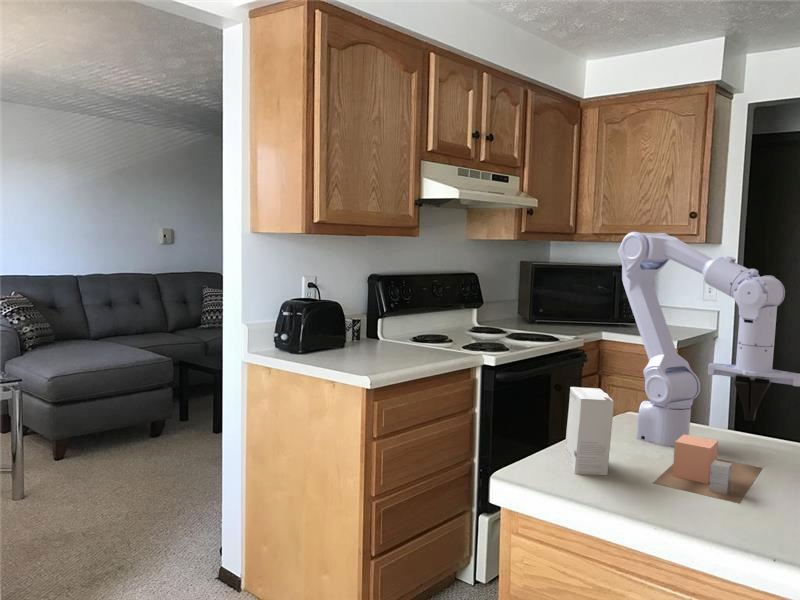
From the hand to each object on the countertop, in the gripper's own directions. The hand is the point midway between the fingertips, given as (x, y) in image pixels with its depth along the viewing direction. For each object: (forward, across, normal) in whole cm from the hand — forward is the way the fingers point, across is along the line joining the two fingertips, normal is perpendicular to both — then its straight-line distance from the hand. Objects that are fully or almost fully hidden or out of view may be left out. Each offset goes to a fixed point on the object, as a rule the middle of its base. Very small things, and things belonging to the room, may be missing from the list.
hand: (749, 419), depth 119 cm
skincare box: (+10, -22, -20) cm, 31 cm away
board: (+10, -4, -10) cm, 15 cm away
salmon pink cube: (+8, -6, -12) cm, 16 cm away
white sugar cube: (+8, -1, -17) cm, 19 cm away
